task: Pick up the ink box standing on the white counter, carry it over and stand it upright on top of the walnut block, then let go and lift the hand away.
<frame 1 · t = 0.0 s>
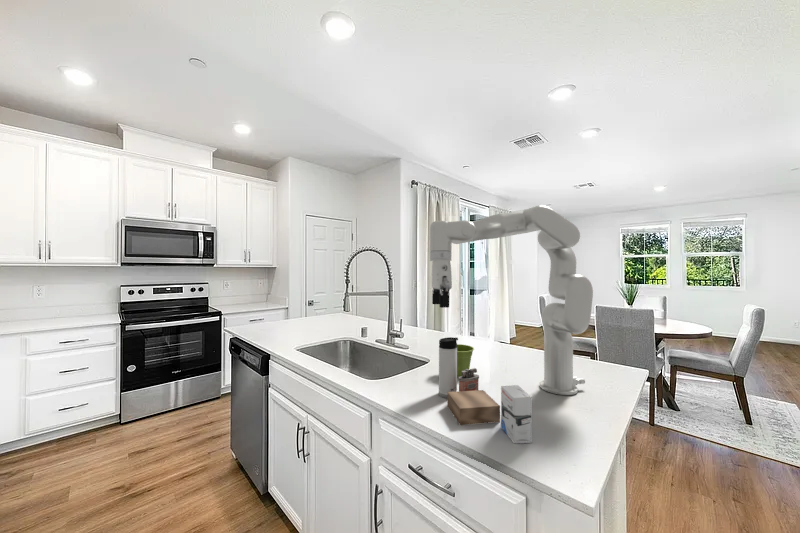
hand: (440, 305, 110), 31 cm above the worktop, tool pointing down, fingers open, 9 cm apart
lighter: (468, 399, 107), on the worktop
ink box: (515, 435, 84), on the worktop
travel mug: (448, 395, 110), on the worktop
plant pot: (459, 375, 131), on the worktop
walnut block: (472, 415, 96), on the worktop
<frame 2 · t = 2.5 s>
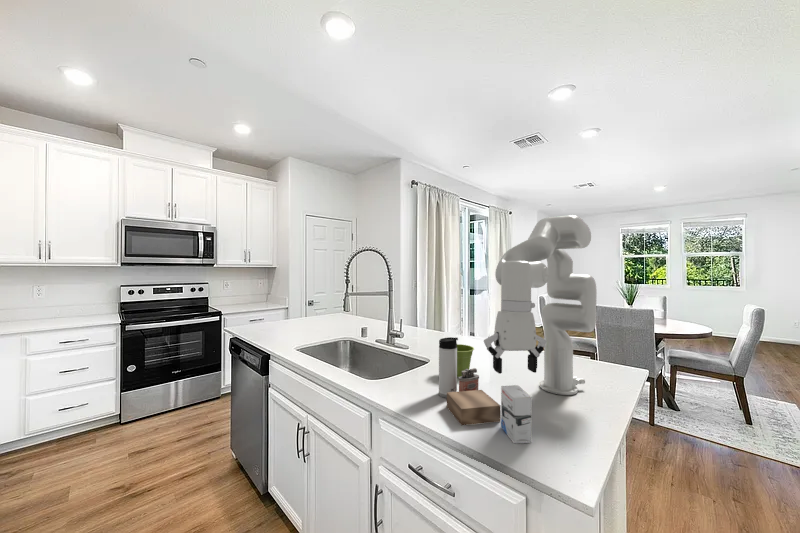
hand: (515, 371, 84), 17 cm above the worktop, tool pointing down, fingers open, 9 cm apart
nothing on the worktop moved.
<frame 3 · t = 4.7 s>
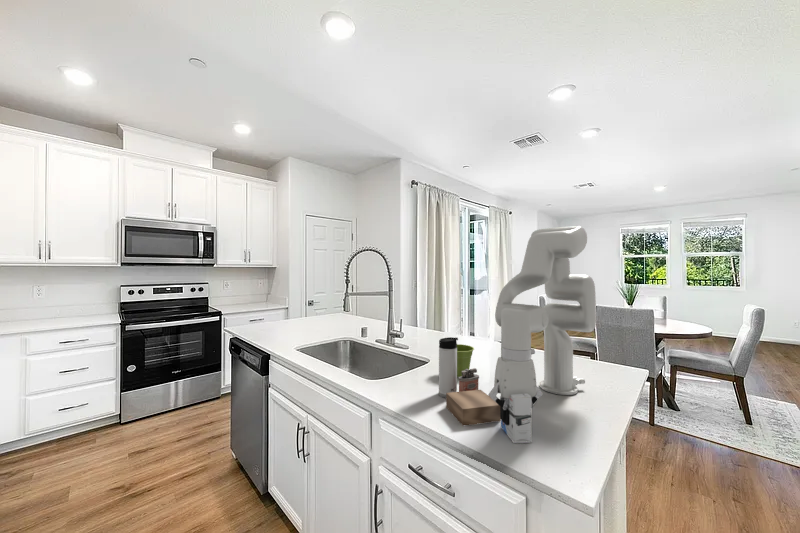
hand: (515, 421, 84), 3 cm above the worktop, tool pointing down, fingers closed on ink box, 5 cm apart
ink box: (515, 435, 84), on the worktop, touching gripper
everything else where it was.
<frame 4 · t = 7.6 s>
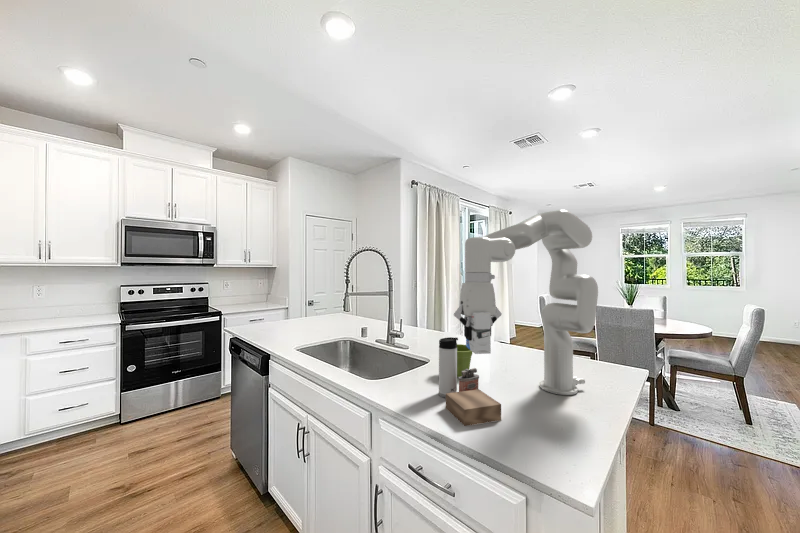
hand: (477, 338, 94), 23 cm above the worktop, tool pointing down, fingers closed on ink box, 5 cm apart
ink box: (477, 350, 94), point 20 cm above the worktop, touching gripper
everything else where it was.
when the fingers open (10 cm above the worktop, at t = 10.7 s): ink box drops 2 cm, resting on walnut block.
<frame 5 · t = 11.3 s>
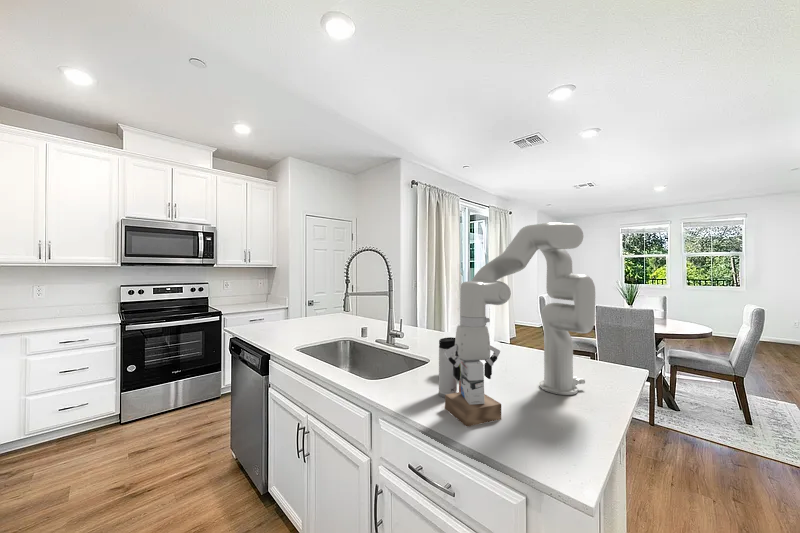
hand: (472, 378, 96), 11 cm above the worktop, tool pointing down, fingers open, 9 cm apart
ink box: (472, 399, 96), point 4 cm above the worktop, touching walnut block
walnut block: (472, 415, 96), on the worktop, touching ink box
everything else where it was.
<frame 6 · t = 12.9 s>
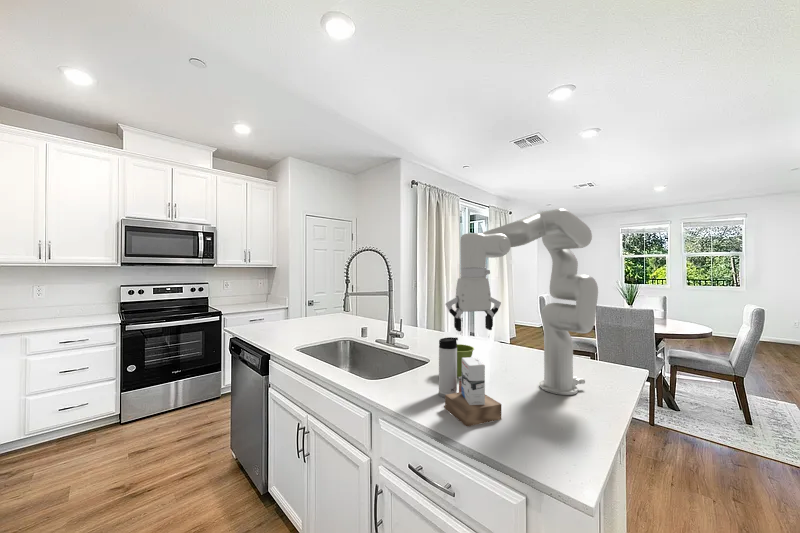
hand: (473, 329, 96), 25 cm above the worktop, tool pointing down, fingers open, 9 cm apart
nothing on the worktop moved.
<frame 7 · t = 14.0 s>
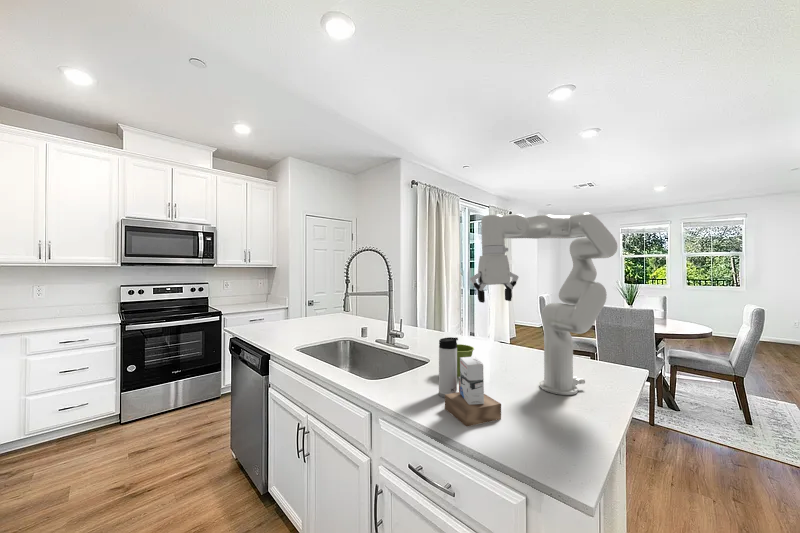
hand: (495, 301, 108), 33 cm above the worktop, tool pointing down, fingers open, 9 cm apart
nothing on the worktop moved.
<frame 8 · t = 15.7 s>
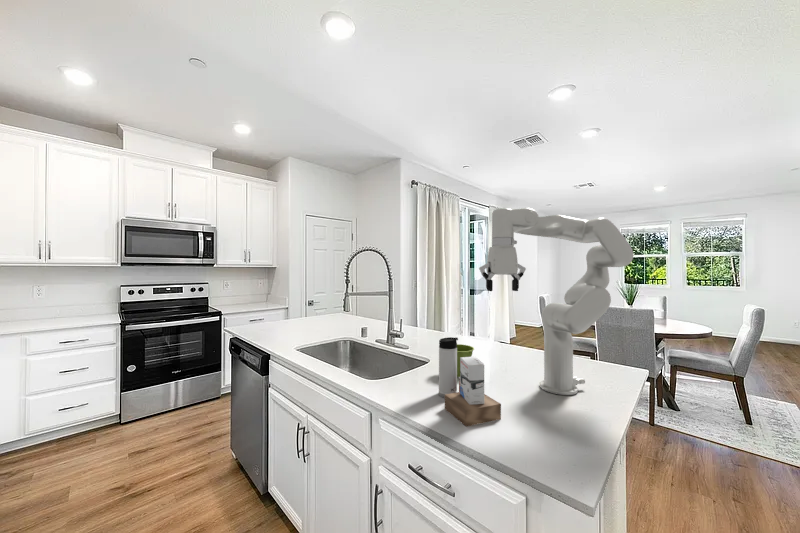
hand: (502, 290, 113), 36 cm above the worktop, tool pointing down, fingers open, 9 cm apart
nothing on the worktop moved.
at the end: ink box 0.1 cm off-centre on the walnut block, point 4.9 cm above the walnut block's base; ink box tilted 1°; ink box touching walnut block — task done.
